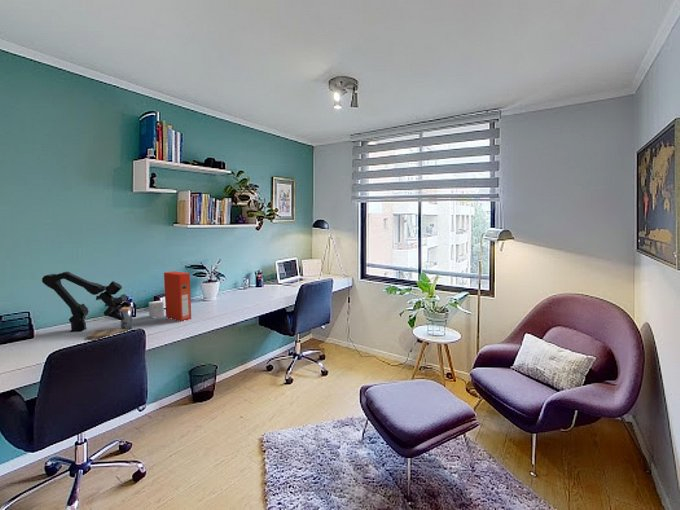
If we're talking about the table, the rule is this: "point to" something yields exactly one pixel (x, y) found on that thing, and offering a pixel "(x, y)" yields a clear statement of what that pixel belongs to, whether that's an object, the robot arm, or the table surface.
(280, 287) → the table surface
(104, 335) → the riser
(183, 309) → the file binder
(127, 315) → the tin
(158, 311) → the small box
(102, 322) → the table surface
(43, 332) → the table surface
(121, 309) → the cargo block
